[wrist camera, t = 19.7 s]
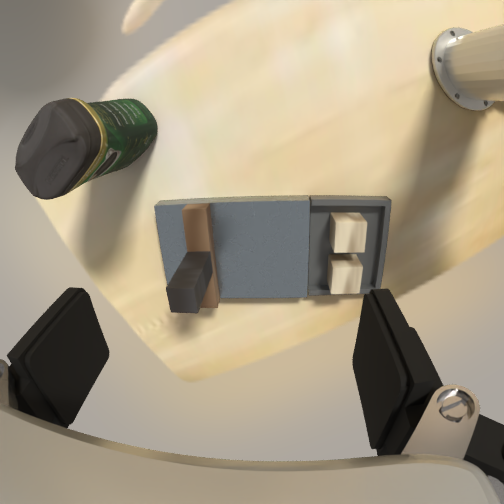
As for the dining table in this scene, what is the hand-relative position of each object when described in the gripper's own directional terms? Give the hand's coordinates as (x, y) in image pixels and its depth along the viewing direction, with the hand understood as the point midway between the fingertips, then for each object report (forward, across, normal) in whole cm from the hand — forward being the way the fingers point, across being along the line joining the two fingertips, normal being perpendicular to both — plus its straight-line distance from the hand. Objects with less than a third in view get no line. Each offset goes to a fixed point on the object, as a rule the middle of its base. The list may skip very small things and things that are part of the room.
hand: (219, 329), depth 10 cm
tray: (+32, -12, +11) cm, 36 cm away
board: (+32, +4, +11) cm, 34 cm away
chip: (+30, -9, +8) cm, 32 cm away
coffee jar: (+32, +18, -6) cm, 38 cm away
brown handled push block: (+30, +8, +11) cm, 33 cm away
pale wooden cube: (+30, -9, +14) cm, 34 cm away
